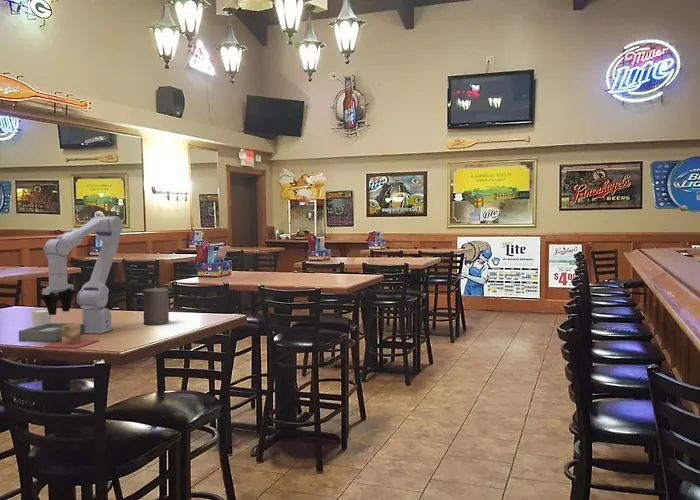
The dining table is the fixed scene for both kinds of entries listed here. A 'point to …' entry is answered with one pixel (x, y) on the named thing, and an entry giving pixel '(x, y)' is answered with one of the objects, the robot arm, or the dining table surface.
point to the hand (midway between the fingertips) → (59, 313)
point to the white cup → (41, 317)
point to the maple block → (71, 334)
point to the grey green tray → (45, 332)
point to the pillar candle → (156, 306)
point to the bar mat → (77, 345)
